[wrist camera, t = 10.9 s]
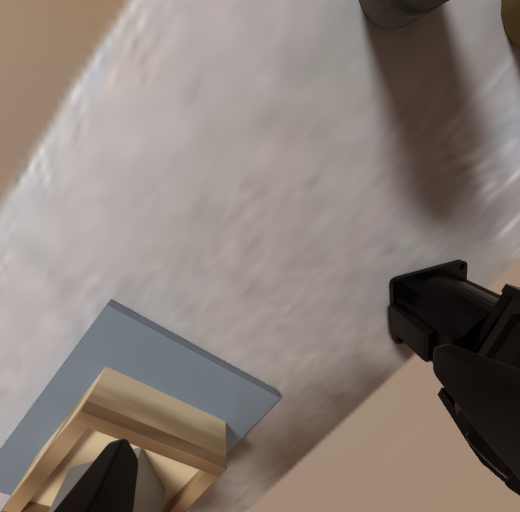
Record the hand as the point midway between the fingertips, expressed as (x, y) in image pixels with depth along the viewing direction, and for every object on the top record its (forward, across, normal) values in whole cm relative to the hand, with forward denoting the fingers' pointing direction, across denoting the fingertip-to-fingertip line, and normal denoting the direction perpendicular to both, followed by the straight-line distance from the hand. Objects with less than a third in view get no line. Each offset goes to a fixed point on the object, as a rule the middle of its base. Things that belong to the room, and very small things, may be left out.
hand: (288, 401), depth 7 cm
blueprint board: (+12, +13, +13) cm, 22 cm away
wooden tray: (+12, +13, +13) cm, 22 cm away
